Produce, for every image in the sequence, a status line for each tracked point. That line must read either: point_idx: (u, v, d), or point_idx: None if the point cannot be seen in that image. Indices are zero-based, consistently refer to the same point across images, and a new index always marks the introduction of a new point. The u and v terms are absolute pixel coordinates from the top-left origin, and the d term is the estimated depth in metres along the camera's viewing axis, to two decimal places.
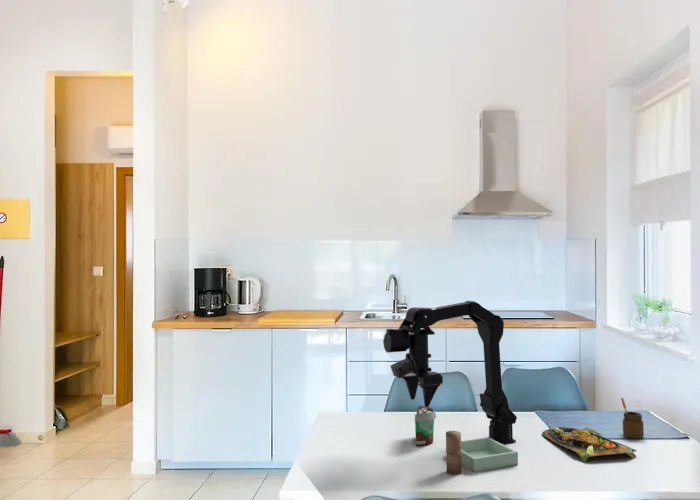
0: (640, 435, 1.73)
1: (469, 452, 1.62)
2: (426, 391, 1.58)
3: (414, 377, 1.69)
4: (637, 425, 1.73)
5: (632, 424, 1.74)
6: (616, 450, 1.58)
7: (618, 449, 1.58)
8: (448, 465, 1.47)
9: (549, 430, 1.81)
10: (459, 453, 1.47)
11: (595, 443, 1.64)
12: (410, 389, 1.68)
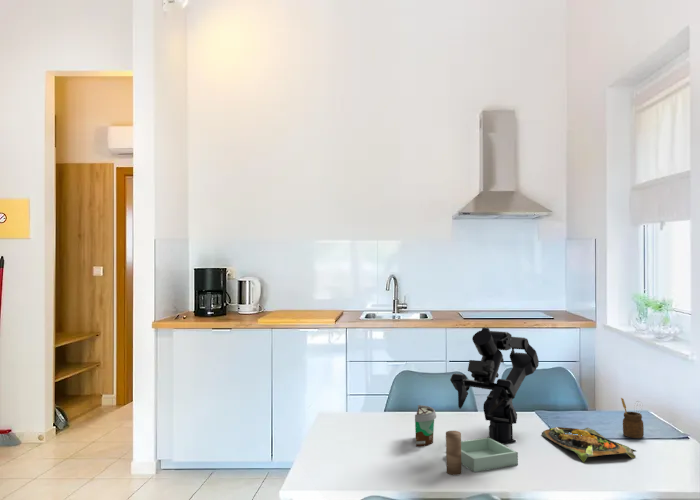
0: (640, 435, 1.73)
1: (469, 452, 1.62)
2: (497, 397, 1.57)
3: (465, 390, 1.66)
4: (637, 425, 1.73)
5: (632, 424, 1.74)
6: (615, 450, 1.57)
7: (617, 449, 1.58)
8: (448, 465, 1.47)
9: (549, 430, 1.81)
10: (459, 453, 1.47)
11: (595, 443, 1.64)
12: (461, 397, 1.63)
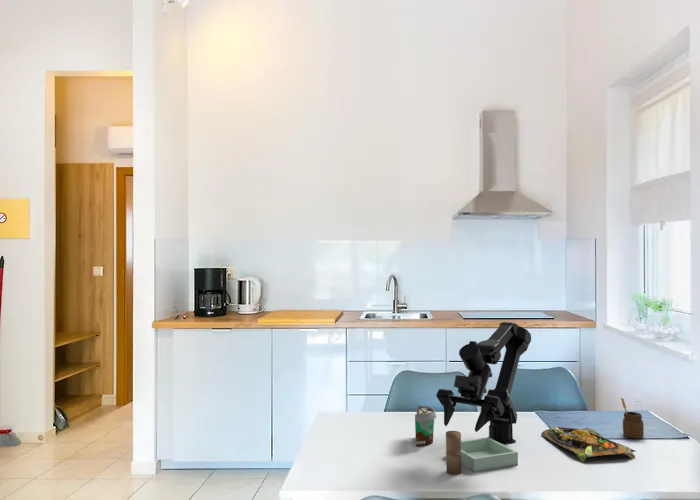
0: (640, 435, 1.73)
1: (469, 452, 1.62)
2: (485, 414, 1.50)
3: (452, 407, 1.59)
4: (637, 425, 1.73)
5: (632, 424, 1.74)
6: (615, 450, 1.57)
7: (617, 449, 1.58)
8: (448, 465, 1.47)
9: (549, 430, 1.81)
10: (459, 453, 1.47)
11: (594, 443, 1.64)
12: (447, 414, 1.56)
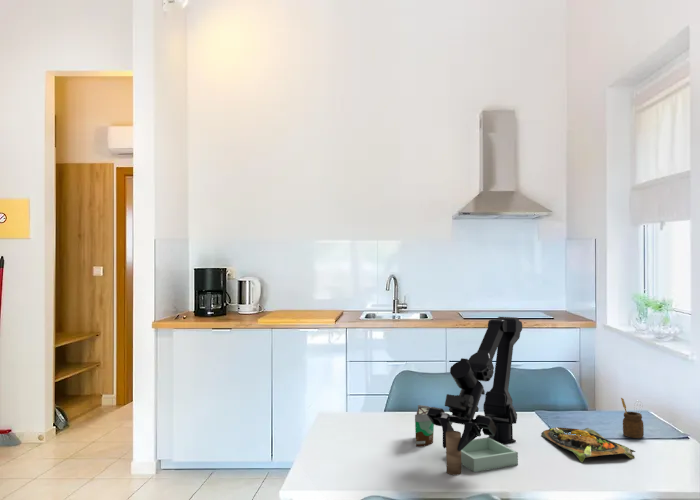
0: (640, 435, 1.73)
1: (469, 452, 1.62)
2: (468, 433, 1.47)
3: (451, 427, 1.53)
4: (637, 425, 1.73)
5: (632, 424, 1.74)
6: (614, 451, 1.57)
7: (616, 450, 1.58)
8: (448, 465, 1.47)
9: (549, 430, 1.81)
10: (459, 453, 1.47)
11: (593, 443, 1.64)
12: None
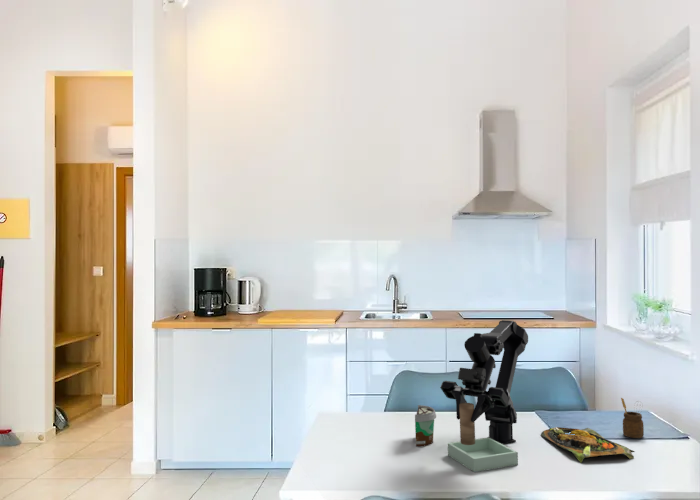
0: (640, 435, 1.73)
1: (469, 452, 1.62)
2: (481, 405, 1.52)
3: (464, 400, 1.58)
4: (637, 425, 1.73)
5: (632, 424, 1.74)
6: (613, 451, 1.57)
7: (615, 450, 1.58)
8: (462, 436, 1.52)
9: (548, 430, 1.81)
10: (473, 424, 1.52)
11: (593, 443, 1.64)
12: None
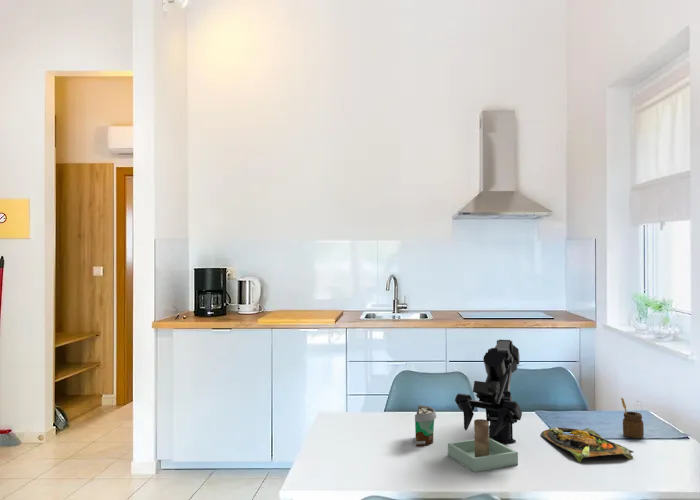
0: (640, 435, 1.73)
1: (469, 452, 1.62)
2: (502, 419, 1.55)
3: (471, 411, 1.63)
4: (637, 425, 1.73)
5: (632, 424, 1.74)
6: (612, 451, 1.57)
7: (615, 450, 1.58)
8: (476, 451, 1.56)
9: (548, 430, 1.81)
10: (487, 440, 1.56)
11: (592, 444, 1.64)
12: (467, 418, 1.60)
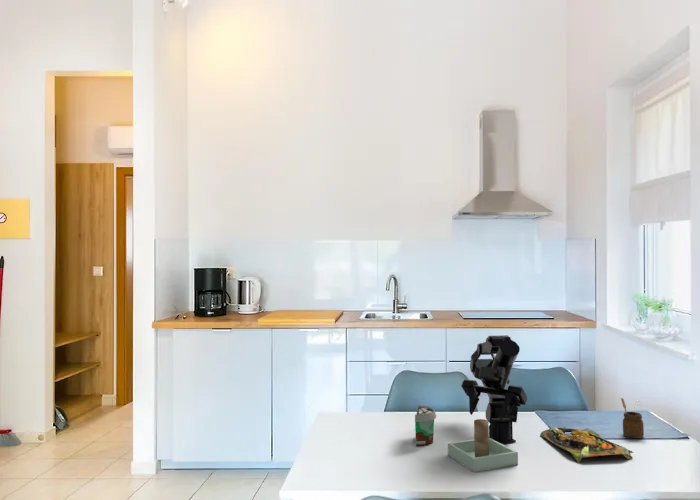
0: (640, 435, 1.73)
1: (469, 452, 1.62)
2: (509, 403, 1.58)
3: (476, 396, 1.67)
4: (637, 425, 1.73)
5: (632, 424, 1.74)
6: (612, 451, 1.57)
7: (614, 450, 1.58)
8: (476, 451, 1.56)
9: (548, 430, 1.81)
10: (487, 440, 1.56)
11: (592, 444, 1.63)
12: (473, 403, 1.64)
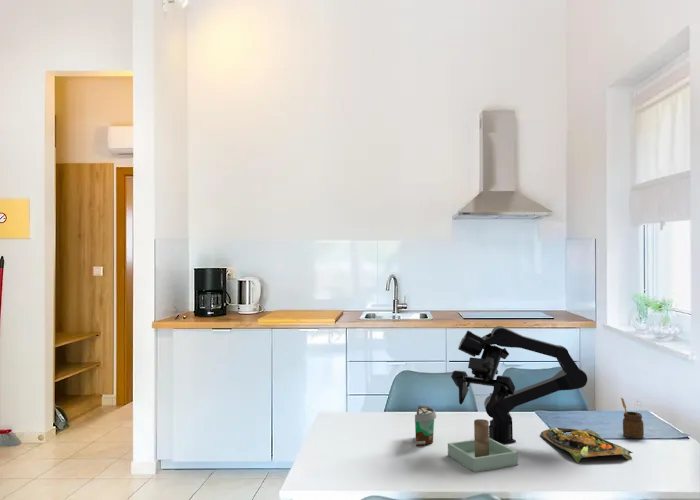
0: (640, 435, 1.73)
1: (469, 452, 1.62)
2: (497, 393, 1.62)
3: (466, 387, 1.71)
4: (637, 425, 1.73)
5: (632, 424, 1.74)
6: (611, 451, 1.57)
7: (613, 450, 1.57)
8: (476, 451, 1.56)
9: (548, 430, 1.81)
10: (487, 440, 1.56)
11: (591, 444, 1.63)
12: (462, 393, 1.68)
